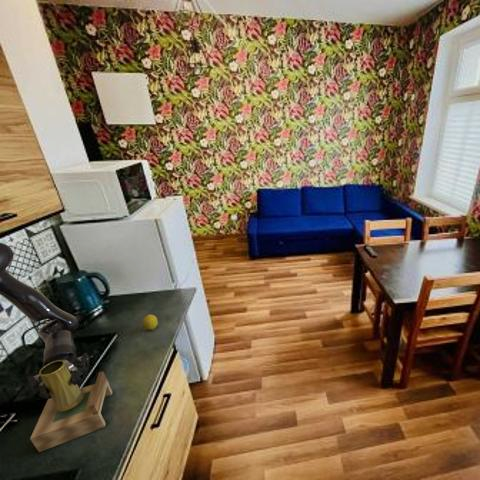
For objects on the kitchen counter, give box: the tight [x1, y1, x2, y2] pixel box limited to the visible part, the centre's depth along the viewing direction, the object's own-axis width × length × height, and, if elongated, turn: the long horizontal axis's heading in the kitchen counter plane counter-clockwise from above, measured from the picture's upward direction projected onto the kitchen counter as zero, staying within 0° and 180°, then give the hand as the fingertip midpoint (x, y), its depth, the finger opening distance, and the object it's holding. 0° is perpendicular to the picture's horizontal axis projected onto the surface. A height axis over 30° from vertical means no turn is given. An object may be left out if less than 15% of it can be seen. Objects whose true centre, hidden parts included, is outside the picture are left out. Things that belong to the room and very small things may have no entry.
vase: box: [38, 360, 84, 411], centre depth 77 cm, size 6×6×14 cm
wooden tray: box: [29, 371, 113, 453], centre depth 81 cm, size 15×13×10 cm
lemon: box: [142, 314, 158, 331], centre depth 118 cm, size 6×6×8 cm
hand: (60, 388), depth 75 cm, fingers closed on vase, 5 cm apart
